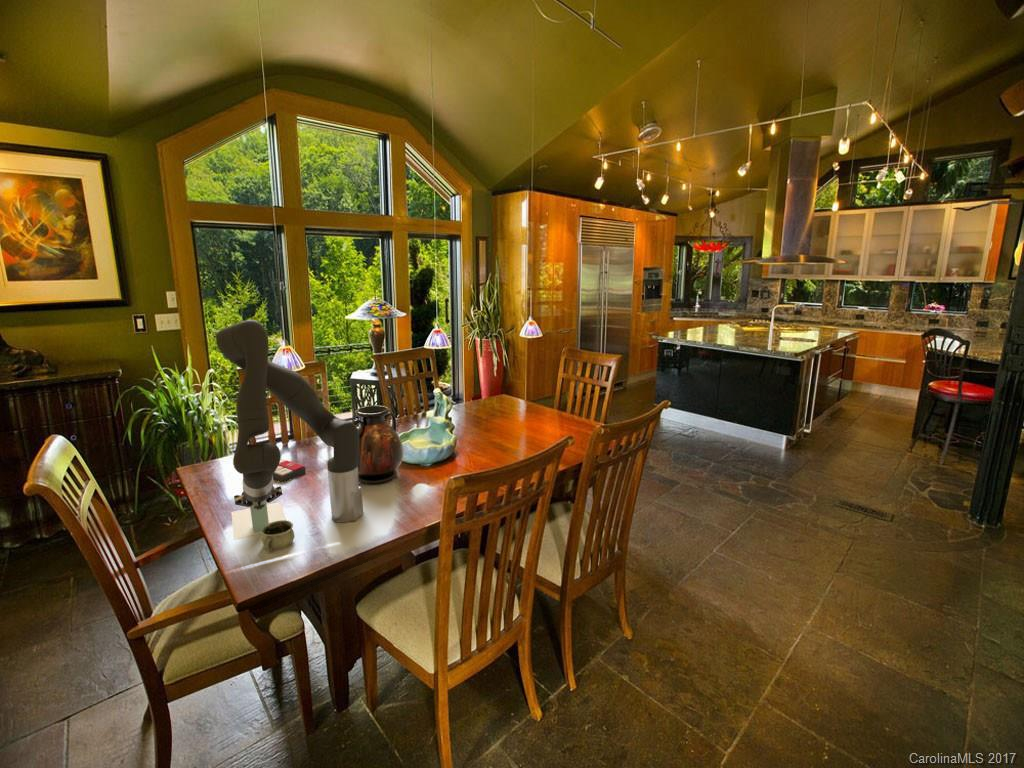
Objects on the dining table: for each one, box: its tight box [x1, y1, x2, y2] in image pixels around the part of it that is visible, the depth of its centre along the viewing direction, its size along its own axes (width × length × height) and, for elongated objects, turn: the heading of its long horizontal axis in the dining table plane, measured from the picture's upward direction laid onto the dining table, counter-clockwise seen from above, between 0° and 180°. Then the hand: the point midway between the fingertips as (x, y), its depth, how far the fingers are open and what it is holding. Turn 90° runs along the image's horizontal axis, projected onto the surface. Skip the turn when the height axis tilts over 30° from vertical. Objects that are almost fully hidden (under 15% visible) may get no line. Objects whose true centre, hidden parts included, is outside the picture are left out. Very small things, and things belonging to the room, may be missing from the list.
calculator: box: [272, 458, 307, 483], centre depth 198 cm, size 11×4×15 cm
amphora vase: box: [351, 405, 405, 486], centre depth 192 cm, size 22×22×28 cm
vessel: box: [260, 519, 296, 554], centre depth 146 cm, size 12×9×6 cm
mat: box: [230, 501, 287, 541], centre depth 161 cm, size 20×15×1 cm
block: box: [249, 502, 269, 533], centre depth 154 cm, size 4×4×14 cm
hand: (258, 506), depth 150 cm, fingers closed
